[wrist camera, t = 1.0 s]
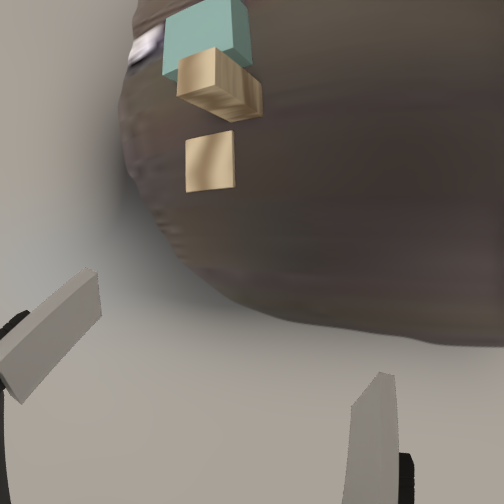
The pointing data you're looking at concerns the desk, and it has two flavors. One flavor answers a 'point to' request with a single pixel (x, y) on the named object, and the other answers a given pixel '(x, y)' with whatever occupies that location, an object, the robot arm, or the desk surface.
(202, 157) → the maple swatch tile
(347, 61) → the desk surface
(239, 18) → the teal base block
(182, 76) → the maple pillar
